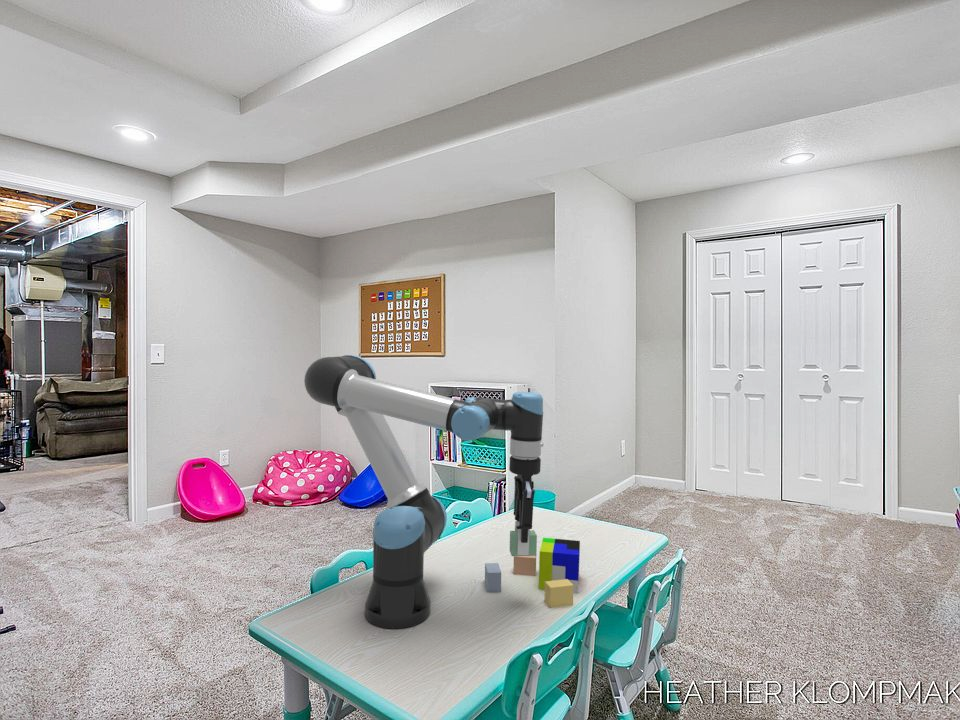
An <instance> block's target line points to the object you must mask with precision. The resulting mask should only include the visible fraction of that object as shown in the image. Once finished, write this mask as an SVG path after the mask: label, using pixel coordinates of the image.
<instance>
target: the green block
mask: <svg viewBox="0 0 960 720" xmlns="http://www.w3.org/2000/svg"><path fill="white" fill-rule="evenodd" d="M537 540H538V535H537V533H536V531H535V530H532V529H530V534H529V555H517V542H518V531H515V530H510V531H509V552H510V555H511V557H514V556H536V557H537V550H538V549H537V543H538V541H537Z"/></svg>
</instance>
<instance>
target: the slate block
mask: <svg viewBox="0 0 960 720" xmlns="http://www.w3.org/2000/svg"><path fill="white" fill-rule="evenodd" d="M484 584H485V587H486V591H487V592H486V593H494V592H497V593H498V592H502V570H501V567H500V564H499V562H485V563H484Z"/></svg>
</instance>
